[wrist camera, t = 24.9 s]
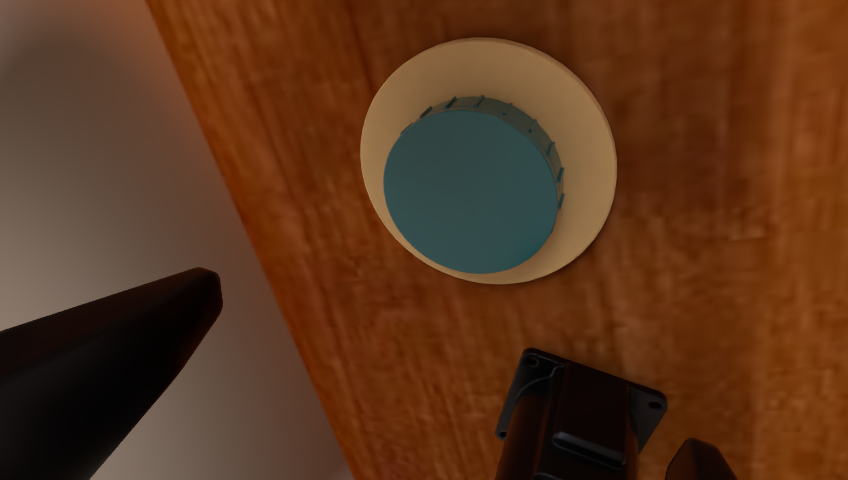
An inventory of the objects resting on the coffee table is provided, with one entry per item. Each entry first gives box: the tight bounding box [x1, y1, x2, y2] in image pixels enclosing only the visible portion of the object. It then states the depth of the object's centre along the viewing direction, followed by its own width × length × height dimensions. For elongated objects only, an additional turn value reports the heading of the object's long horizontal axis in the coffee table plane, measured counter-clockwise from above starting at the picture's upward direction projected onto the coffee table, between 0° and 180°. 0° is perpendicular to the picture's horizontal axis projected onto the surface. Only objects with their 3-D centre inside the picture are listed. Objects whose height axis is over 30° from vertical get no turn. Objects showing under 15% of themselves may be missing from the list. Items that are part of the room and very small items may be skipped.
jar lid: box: [383, 95, 565, 274], centre depth 19 cm, size 7×7×2 cm
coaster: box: [361, 37, 617, 284], centre depth 20 cm, size 10×10×1 cm
